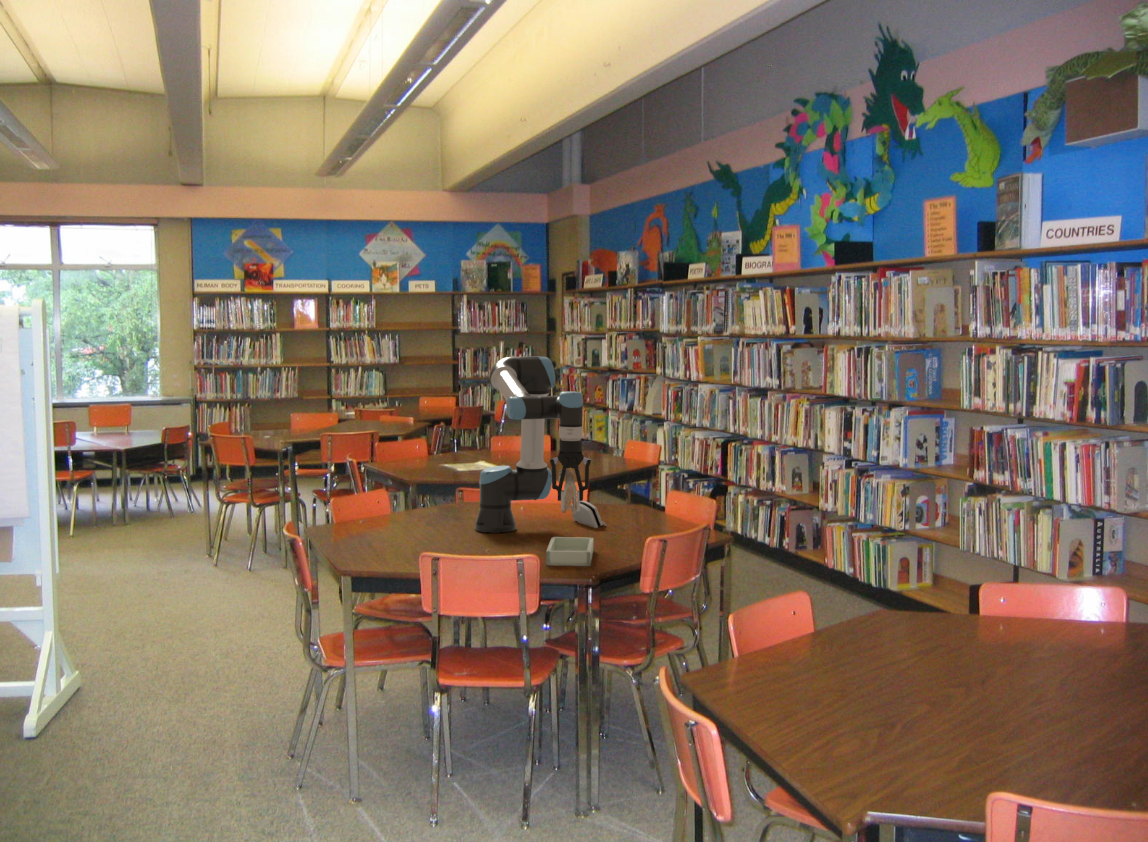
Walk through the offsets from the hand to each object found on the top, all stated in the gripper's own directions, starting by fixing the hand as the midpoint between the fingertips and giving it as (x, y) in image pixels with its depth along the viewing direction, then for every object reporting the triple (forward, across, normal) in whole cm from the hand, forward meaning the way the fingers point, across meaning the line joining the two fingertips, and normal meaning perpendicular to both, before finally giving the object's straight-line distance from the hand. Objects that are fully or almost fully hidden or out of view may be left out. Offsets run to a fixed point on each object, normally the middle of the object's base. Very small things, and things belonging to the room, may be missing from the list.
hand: (570, 510), depth 316 cm
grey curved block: (+16, +3, +57) cm, 60 cm away
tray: (+16, 0, 0) cm, 16 cm away
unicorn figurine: (0, -3, 0) cm, 3 cm away
